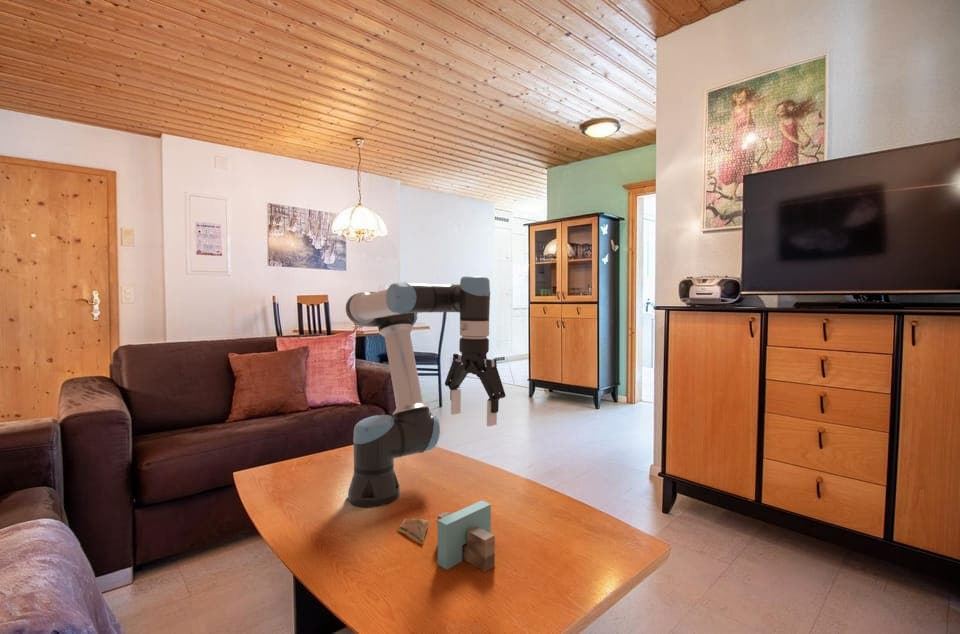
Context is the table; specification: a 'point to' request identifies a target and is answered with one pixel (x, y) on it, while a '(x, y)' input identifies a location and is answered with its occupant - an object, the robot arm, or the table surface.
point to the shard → (414, 529)
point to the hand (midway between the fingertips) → (472, 419)
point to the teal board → (460, 531)
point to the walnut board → (478, 547)
